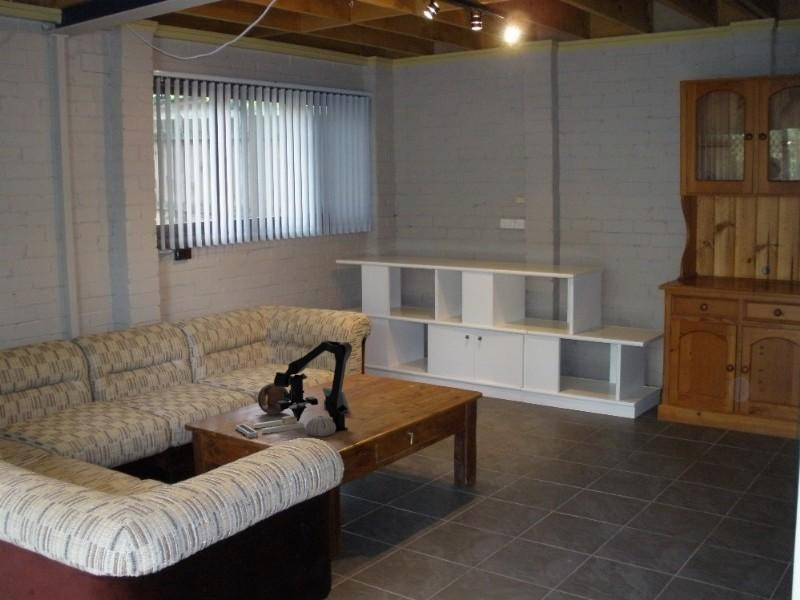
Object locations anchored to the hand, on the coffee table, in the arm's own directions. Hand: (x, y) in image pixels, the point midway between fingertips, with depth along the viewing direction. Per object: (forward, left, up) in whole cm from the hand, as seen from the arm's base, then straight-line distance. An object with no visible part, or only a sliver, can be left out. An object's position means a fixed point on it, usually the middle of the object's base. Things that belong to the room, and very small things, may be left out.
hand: (297, 421), depth 411 cm
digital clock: (+16, -28, -2) cm, 32 cm away
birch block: (0, +4, -2) cm, 4 cm away
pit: (0, +25, -2) cm, 25 cm away
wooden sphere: (+24, +1, -2) cm, 24 cm away
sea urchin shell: (-19, -3, -2) cm, 19 cm away
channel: (0, +9, -2) cm, 9 cm away
